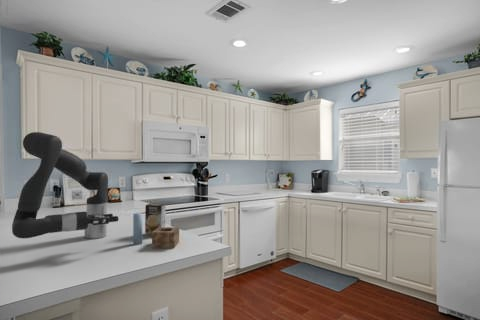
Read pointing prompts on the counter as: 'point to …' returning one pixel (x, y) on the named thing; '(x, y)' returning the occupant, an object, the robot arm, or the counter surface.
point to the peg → (137, 228)
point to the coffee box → (154, 217)
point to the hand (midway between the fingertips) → (115, 217)
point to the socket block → (165, 237)
